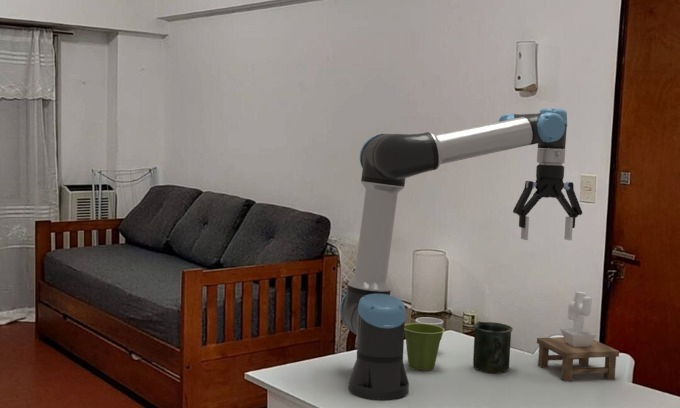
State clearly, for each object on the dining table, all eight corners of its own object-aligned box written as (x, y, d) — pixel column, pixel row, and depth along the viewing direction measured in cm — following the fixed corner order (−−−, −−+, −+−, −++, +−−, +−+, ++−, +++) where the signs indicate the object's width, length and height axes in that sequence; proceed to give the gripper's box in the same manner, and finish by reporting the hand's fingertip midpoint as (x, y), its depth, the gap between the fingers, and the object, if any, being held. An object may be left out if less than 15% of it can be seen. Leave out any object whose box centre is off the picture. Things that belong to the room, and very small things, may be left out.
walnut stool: (564, 382, 203) (566, 353, 203) (535, 365, 219) (537, 337, 218) (617, 380, 207) (619, 351, 206) (585, 363, 223) (586, 336, 222)
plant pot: (433, 376, 205) (435, 335, 204) (393, 368, 210) (395, 328, 210) (449, 366, 215) (451, 326, 214) (411, 359, 221) (412, 320, 220)
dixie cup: (446, 352, 229) (447, 319, 228) (435, 358, 222) (436, 324, 221) (421, 347, 234) (422, 315, 233) (409, 353, 226) (410, 320, 226)
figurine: (580, 340, 217) (583, 288, 216) (598, 348, 208) (601, 294, 207) (557, 340, 216) (560, 288, 215) (573, 349, 207) (577, 295, 206)
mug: (505, 363, 220) (507, 322, 219) (517, 378, 205) (519, 335, 204) (468, 362, 220) (470, 321, 219) (477, 377, 205) (479, 333, 204)
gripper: (515, 163, 206) (511, 241, 207) (597, 166, 212) (593, 241, 213) (503, 162, 213) (499, 237, 215) (583, 165, 219) (578, 238, 221)
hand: (546, 239), depth 214 cm, fingers open, 13 cm apart
